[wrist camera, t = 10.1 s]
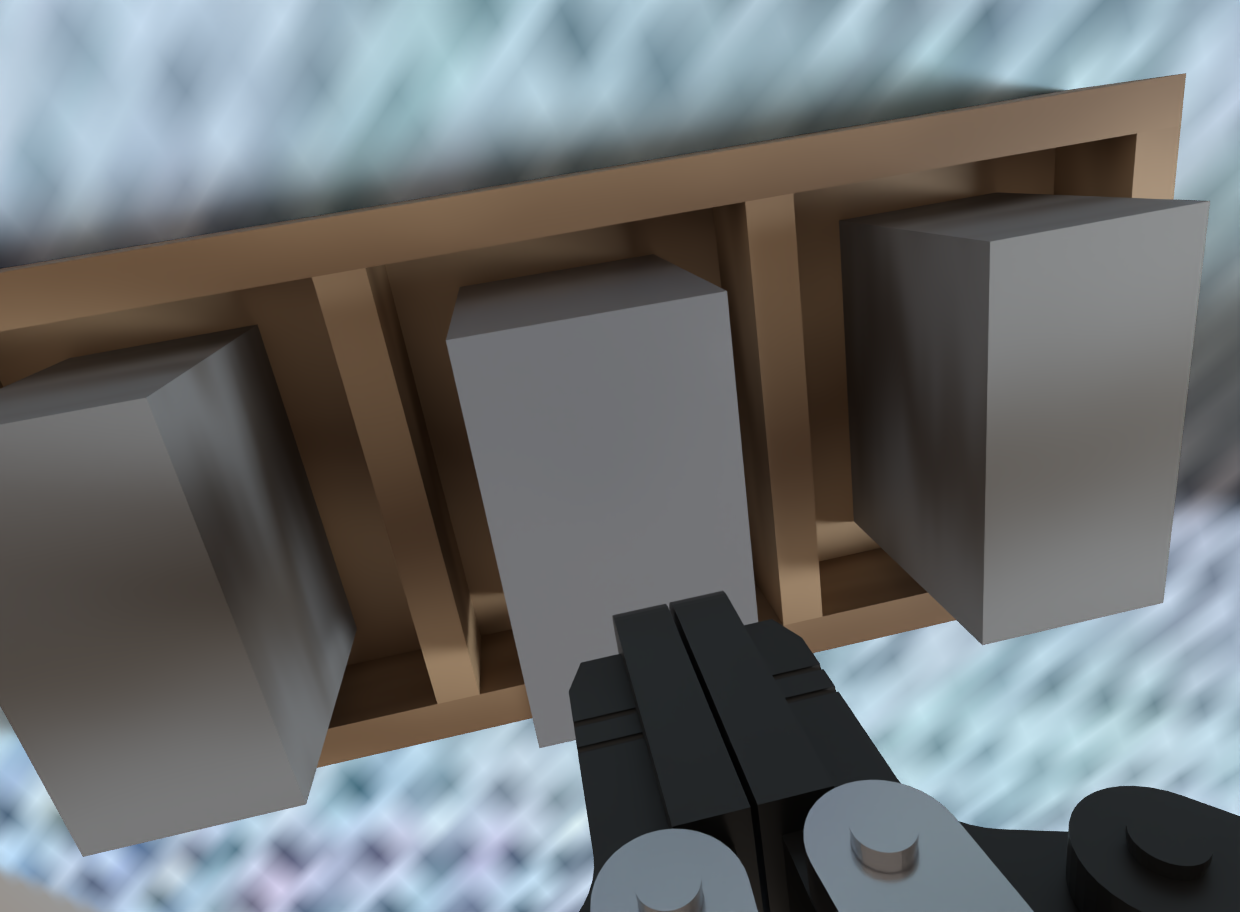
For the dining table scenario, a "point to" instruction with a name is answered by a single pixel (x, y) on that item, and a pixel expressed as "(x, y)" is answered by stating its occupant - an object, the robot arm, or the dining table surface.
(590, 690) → the robot arm
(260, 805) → the rack
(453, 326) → the block
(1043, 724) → the dining table surface
